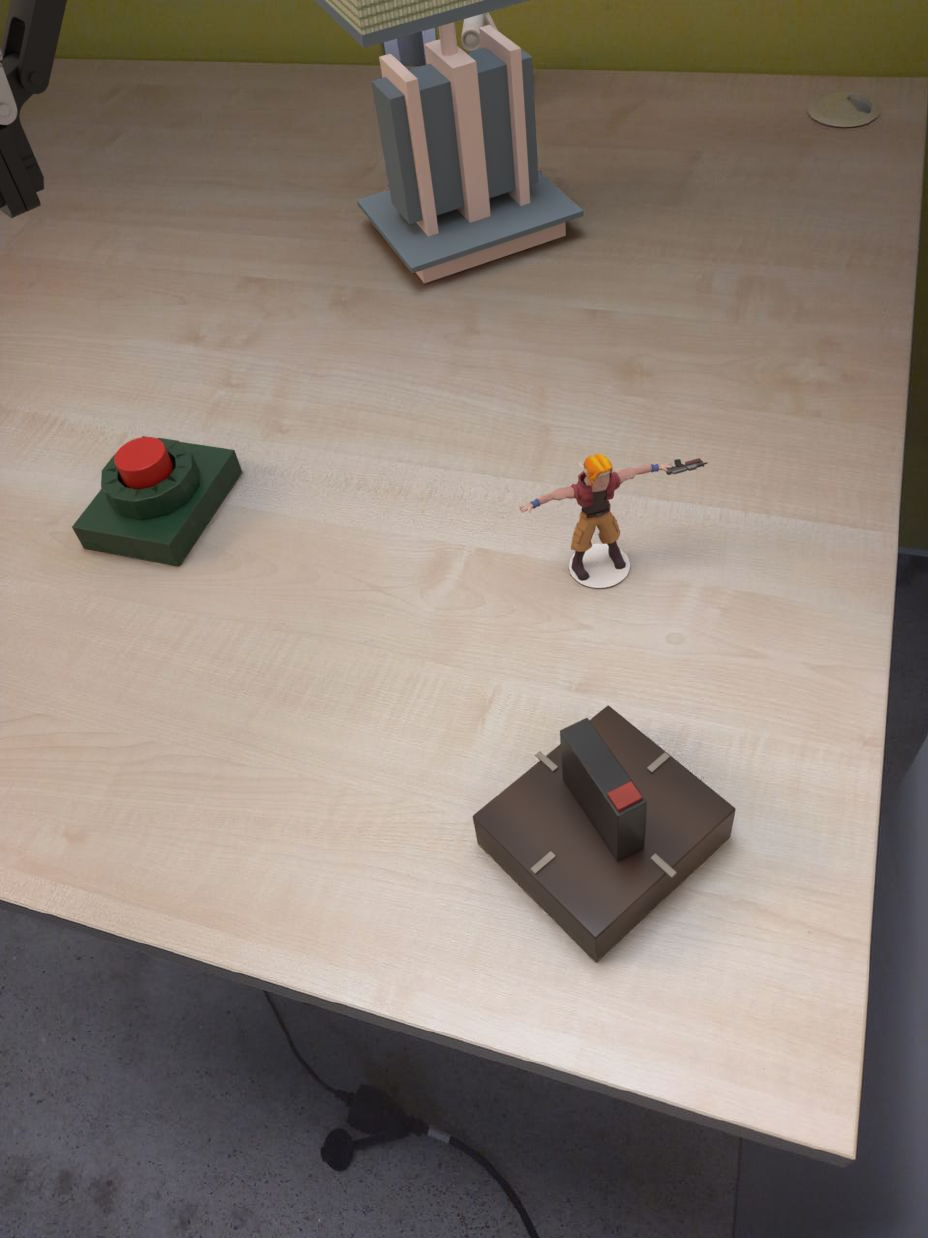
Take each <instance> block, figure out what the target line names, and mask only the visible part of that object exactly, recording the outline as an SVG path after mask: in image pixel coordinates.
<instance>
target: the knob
mask: <svg viewBox="0 0 928 1238" xmlns="http://www.w3.org/2000/svg"><path fill="white" fill-rule="evenodd" d="M589 720H590V719H589V718H588V717H585V718H582V719H580V720H579V721H577V722H575V723H573V724H570V725H568V726H566V727H564V728H562V729H560V730H559V742H560V744H561V758H562V774H563V779H564V781H565V782H566V784H567V785H568V787H569V788H570V790H571V791H572V793H573V794H574V796H575V797H576V799H577V801H578V802H579V804H580V805H581V807H582V808H583V810H584V811H585V813H586V814H587V816H588V817H589V819H590V820H591V822H592V823H593V825H594V826H595V828H596V830H597V831H598V833H599V834H600V836H601V837H602V839H603V840H604V842H605V843H606V845H607V846H608V848H609V849H610V851H611V852H612V854H613V855H614V857H615V859H616V860H617V861H619V860H621V859H623V858H624V857H626V856H628V855H630V854H632V853H634V852H636V851H638V850H640V849H642V848H644V846H645V829H646V812H647V801H646V800H645V798H644V797H643V795H642V794H641V792H640V791H639V790H638V788H637V787H636V785H635V784H634V783H633V781H632V780H631V778H630V777H629V776H628V774H627V773H626V771H625V770H624V769H623V767H622V766H621V764H620V763H619V761H618V760H617V759H616V757H615V756H614V754H613V753H612V752H611V750H610V749H609V747H608V746H607V745H606V743H605V742H604V740H603V739H602V737H601V736H600V735H599V733H598V732H597V730H596V729H595V728H594V726H593V725H592V723H591V722H590V721H589Z"/></svg>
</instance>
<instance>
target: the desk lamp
mask: <svg viewBox="0 0 928 1238" xmlns="http://www.w3.org/2000/svg"><path fill="white" fill-rule="evenodd" d="M313 1H314V2H315V3H316V4H317V5H318V6H319V7H320V8H321V9H322V10H323V11H324V12H325V13H326V14H327V15H328V16H330V17H331V18H332V20H333V21H335V22H336V23H337V24H338V25H339V26H340V27H341V28H342V30H344V31H345V32H346V33H348V35H349V36H350V37H352V38H353V40H354V41H356V42H357V44H359V45H360V46H361V47H362V48H363V49H366V48H370V47H373V46H377V45H380V44H383V43H386V42H387V43H388V42H391V41H393V40H397V39H400V38H404V37H407V36H411V35H414V34H418V33H421V32H425V31H428V30H431V29H435V28H438V34H439V35H438V36H439V39H435V40H431V41H428V42H425V43H423V47H424V55H425V63H426V64H423V65H420V66H417V67H414V68H411V69H408V68H407V67H406V66H405V65H403V64H402V63H401V62H400V61H399V60H398V59H397V58H396V57H395V56H394V55H392V53H386V54H383V55H381V56H380V55H379V56H378V59H379V64H380V72H381V77H380V78H377V79H373V80H371V81H370V82H371V83H370V84H371V89H372V94H373V100H374V107H375V111H376V119H377V124H378V129H379V136H380V140H381V141H380V142H381V148H382V152H383V159H384V164H385V172H386V177H387V182H388V189H387V190H384V191H381V192H377V193H374V194H371V195H368V196H365V197H361V198H359V199H356V205H357V207H358V208H359V209H360V210H361V212H362V213H363V214H364V216H366V218H367V219H368V220H369V222H370V223H371V224H372V225H373V227H374V228H375V229H376V230H377V231H378V233H379V234H380V236H381V237H382V238H383V239H384V240H385V242H387V244H388V246H390V248H391V249H392V250H393V252H394V253H395V254H396V256H398V259H400V261H402V262H403V264H404V265H405V267H406V268H407V269H408V270H409V272H410V273H411V274H416V275H417V276H418V278H419V279H420V280H421V281H422V283H423V284H428V283H430V282H434V281H437V280H439V279H442V278H445V277H448V276H451V275H454V274H457V273H459V272H463V271H465V270H468V269H472V268H475V267H478V266H480V265H484V264H486V263H489V262H492V261H496V260H498V259H501V258H504V257H506V256H507V257H508V256H509V255H512V254H517V253H519V252H522V251H526V250H528V249H530V248H533V247H536V246H540V245H543V244H545V243H548V242H552V241H555V240H557V239H560V238H563V237H566V236H567V234H566V233H567V232H566V231H567V230H566V229H567V228H566V223H567V222H570V221H573V220H575V219H579V218H583V217H584V215H585V214H584V210H583V209H582V208H581V207H580V206H579V205H578V204H577V203H576V202H575V201H573V200H572V199H571V198H570V197H569V196H568V195H567V194H565V192H563V191H562V190H561V189H560V188H559V187H558V186H557V185H556V184H554V183H553V182H552V181H551V180H550V179H549V178H548V177H547V176H545V174H543V173H542V172H541V171H540V170H539V160H538V143H537V142H538V141H537V140H538V139H537V122H536V105H535V104H536V103H535V84H534V68H533V66H534V65H533V56H532V55H531V54H529V53H528V52H526V51H525V50H524V49H522V47H520V46H519V45H517V44H516V43H515V42H514V41H512V40H511V39H509V38H508V37H507V36H505V35H504V34H503V33H501V31H499V30H498V29H497V30H498V31H497V30H496V29H495V28H493V27H492V26H491V25H487V24H486V25H483V27H480V28H479V32H480V43H481V49H478V50H474V51H471V52H470V51H467V52H466V51H464V50H463V49H462V48H460V46H458V43H457V42H458V41H457V32H456V24H455V23H456V22H460V21H464V19H467V18H470V17H473V16H477V15H480V14H484V13H487V12H489V13H490V12H494V11H498V10H500V9H505V8H508V7H511V6H515V5H518V4H522V3H525V2H529V1H530V0H313Z"/></svg>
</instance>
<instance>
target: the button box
mask: <svg viewBox="0 0 928 1238" xmlns="http://www.w3.org/2000/svg"><path fill="white" fill-rule="evenodd" d="M141 437H147V436H145V435H142V436H141ZM156 438H157V439H159V440H161V441H162V442H163V443H164V445H165V447H166V450H167V452H168V454H169V457H170V459H171V461H172V464H173V468H172V472H171V474H170V475H169V476H168V478H167V479H165V480H164V481H162V482H160V483H159V484H157V485H155V486H153V487H149V488H144V489H134V488H131V487H129V486H127V485H126V484H125V483H124V481H123V479H122V477H121V475H120V473H119V471H118V469H117V467H116V465H115V462H114V458H115V454H116V453H114V454H113V455H112V457H111V458H110V459H109V461H108V462H107V463H106V464H105V465H104V466H103V468H102V470H101V476H100V490H99V491H98V492H97V494H96V495H95V496H94V497H93V499H92V500H91V502H90V503H89V504H88V505H87V506H86V508H85V509H84V511H82V513H81V514H80V516H79V517H78V518H77V520H76V521H75V522H74V523H73V525H71V528H72V530H73V532H74V534H75V535H76V537H77V539H78V540H79V543H80V544H81V546H82V548H83V549H86V550H91V551H95V552H96V551H97V552H102V553H107V554H113V555H117V556H123V557H128V558H134V559H139V560H143V561H148V562H154V563H160V564H166V565H168V566H169V565H170V566H174V567H180V566H181V564H182V563H183V561H184V560H185V559H186V557H187V555H188V554H189V552H190V551H191V550H192V548H193V547H194V545H195V544H196V542H197V540H198V539H199V537H200V536H201V534H202V533H203V531H204V530H205V528H206V527H207V525H209V522H210V521H211V520H212V518H213V516H214V515H215V514H216V512H217V511H218V509H219V507H220V506H221V504H222V503H223V502H224V500H225V499H226V497H227V496H228V494H229V493H230V491H231V490H232V488H233V487H234V485H235V483H236V482H237V480H238V479H239V477H240V476H241V475H242V474H243V469H242V467H241V464H240V461H239V458H238V456H237V453H236V450H235V449H232V448H224V447H219V446H211V445H205V444H197V443H191V442H184V441H180V440H176V439H169V438H164V437H163V438H162V437H156Z"/></svg>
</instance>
